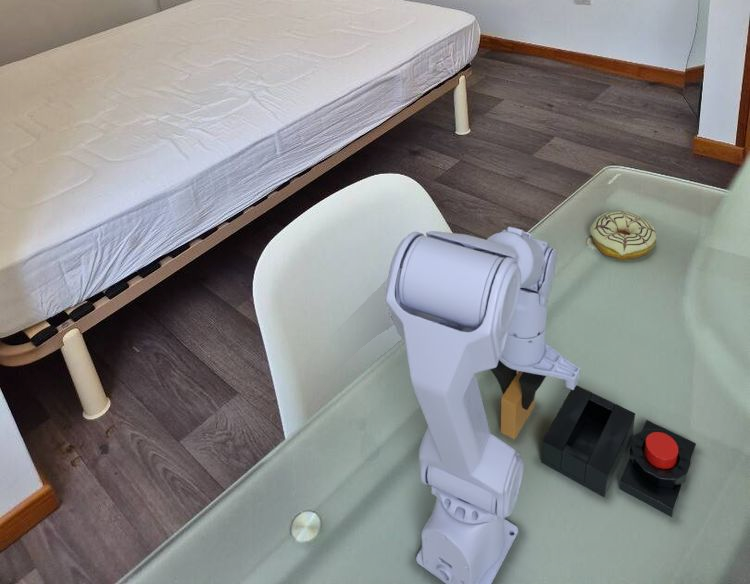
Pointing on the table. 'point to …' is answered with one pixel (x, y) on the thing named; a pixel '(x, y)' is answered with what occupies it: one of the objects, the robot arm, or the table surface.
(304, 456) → the table surface
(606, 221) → the decorated donut
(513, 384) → the toast
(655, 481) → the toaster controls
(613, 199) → the table surface
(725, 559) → the table surface
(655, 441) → the button
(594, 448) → the toaster
